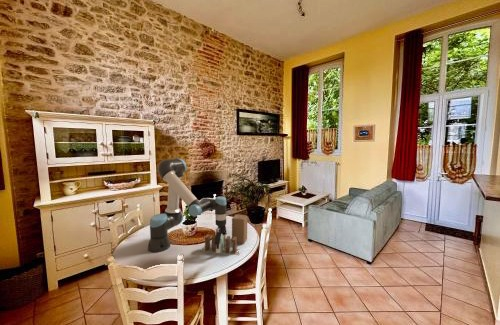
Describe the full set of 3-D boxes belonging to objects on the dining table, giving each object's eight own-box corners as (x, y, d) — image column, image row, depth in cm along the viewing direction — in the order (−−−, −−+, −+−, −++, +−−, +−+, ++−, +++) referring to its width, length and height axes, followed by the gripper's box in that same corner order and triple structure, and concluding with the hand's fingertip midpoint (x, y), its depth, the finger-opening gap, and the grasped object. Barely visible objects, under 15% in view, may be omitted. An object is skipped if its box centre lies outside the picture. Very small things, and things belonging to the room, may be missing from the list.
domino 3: (225, 252, 148) (225, 239, 147) (227, 249, 153) (227, 235, 152) (228, 253, 147) (228, 239, 147) (230, 249, 152) (230, 236, 151)
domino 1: (205, 250, 150) (204, 237, 149) (207, 247, 155) (207, 234, 154) (207, 251, 150) (207, 237, 149) (210, 247, 155) (210, 234, 154)
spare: (218, 252, 149) (218, 238, 148) (220, 248, 153) (220, 235, 153) (221, 252, 148) (221, 238, 147) (223, 248, 153) (223, 235, 152)
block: (247, 239, 170) (247, 215, 168) (243, 245, 160) (244, 219, 158) (235, 237, 172) (235, 213, 170) (231, 243, 163) (231, 218, 161)
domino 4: (232, 253, 147) (232, 239, 146) (234, 249, 152) (234, 236, 151) (235, 253, 147) (235, 239, 146) (236, 250, 152) (236, 236, 151)
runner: (200, 251, 149) (200, 251, 149) (204, 246, 157) (204, 246, 157) (238, 255, 145) (238, 255, 145) (241, 249, 153) (241, 249, 153)
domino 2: (211, 251, 149) (211, 237, 148) (214, 247, 154) (214, 234, 153) (214, 251, 149) (214, 238, 148) (216, 248, 154) (216, 235, 153)
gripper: (220, 226, 136) (220, 257, 138) (230, 213, 160) (230, 240, 162) (209, 225, 137) (209, 256, 139) (221, 212, 162) (221, 239, 164)
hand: (220, 247), depth 151 cm, fingers open, 13 cm apart
